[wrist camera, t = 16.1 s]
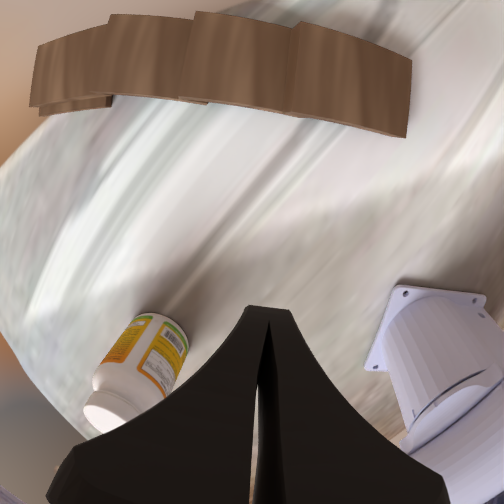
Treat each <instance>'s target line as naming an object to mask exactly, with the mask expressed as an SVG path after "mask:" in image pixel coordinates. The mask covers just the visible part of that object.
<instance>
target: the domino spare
mask: <svg viewBox="0 0 504 504" xmlns="http://www.w3.org/2000/svg"><path fill="white" fill-rule="evenodd" d="M193 21H194V20H188V19H181V18H172V17H162V16H150V15H129V14H128V15H127V14H111V15H110V19H109V21H108V24H107V27H106V30H105V33H104V37H103V40H102V43H101V47H100V50H99V54H98V57H97V61H96V65H95V69H94V73H93V77H92V82H91V86H90V92H93V93H96V94H114V95H128V96H140V97H150V98H159V99H167V100H175V101H182V102H189V103H195V104H201V105H207V104H208V102H204V101H195V100H185V99H179V97H178V93H179V87H180V82H181V76H182V71H183V66H184V61H185V56H186V51H187V46H188V42H189V37H190V33H191V29H192V25H193Z"/></svg>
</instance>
